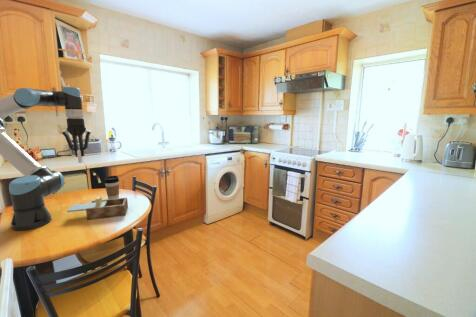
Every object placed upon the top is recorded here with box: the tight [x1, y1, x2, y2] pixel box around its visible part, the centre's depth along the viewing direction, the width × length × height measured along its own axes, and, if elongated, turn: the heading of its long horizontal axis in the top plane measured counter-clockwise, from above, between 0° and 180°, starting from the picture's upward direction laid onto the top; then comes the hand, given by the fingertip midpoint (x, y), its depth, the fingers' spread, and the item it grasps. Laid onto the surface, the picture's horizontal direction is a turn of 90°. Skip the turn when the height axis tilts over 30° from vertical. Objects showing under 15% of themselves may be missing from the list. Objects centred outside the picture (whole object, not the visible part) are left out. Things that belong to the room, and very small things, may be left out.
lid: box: [66, 195, 107, 213], centre depth 126 cm, size 16×9×5 cm, turn 108°
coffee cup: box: [103, 175, 120, 199], centre depth 148 cm, size 8×8×15 cm
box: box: [85, 197, 129, 221], centre depth 130 cm, size 18×12×6 cm, turn 108°
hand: (80, 162), depth 127 cm, fingers closed
